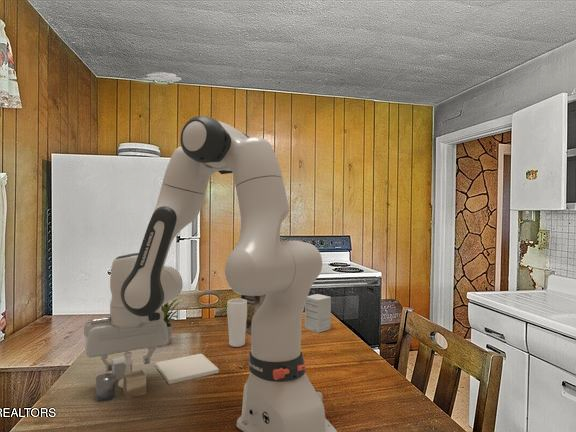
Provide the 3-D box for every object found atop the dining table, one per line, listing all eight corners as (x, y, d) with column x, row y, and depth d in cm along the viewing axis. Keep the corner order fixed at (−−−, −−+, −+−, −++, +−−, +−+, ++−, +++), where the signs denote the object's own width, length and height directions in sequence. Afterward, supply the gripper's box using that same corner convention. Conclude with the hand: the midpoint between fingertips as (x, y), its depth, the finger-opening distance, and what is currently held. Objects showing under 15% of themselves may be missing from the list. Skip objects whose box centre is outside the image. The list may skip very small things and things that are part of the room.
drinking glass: (243, 349, 130) (243, 303, 130) (224, 347, 131) (224, 302, 131) (249, 342, 136) (249, 299, 136) (230, 340, 138) (231, 298, 138)
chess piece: (125, 378, 107) (125, 342, 107) (141, 380, 106) (141, 343, 106) (113, 386, 102) (113, 348, 102) (130, 388, 101) (130, 350, 101)
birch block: (146, 394, 98) (146, 376, 98) (126, 398, 96) (126, 380, 96) (142, 387, 102) (142, 369, 102) (123, 391, 100) (123, 373, 100)
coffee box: (240, 331, 149) (240, 288, 148) (251, 326, 154) (251, 285, 154) (258, 335, 143) (259, 291, 143) (269, 331, 149) (269, 288, 148)
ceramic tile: (218, 372, 111) (218, 369, 111) (168, 384, 104) (168, 380, 104) (201, 356, 123) (201, 353, 123) (155, 365, 116) (155, 362, 115)
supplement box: (317, 325, 157) (317, 293, 157) (331, 329, 152) (331, 296, 152) (304, 328, 152) (304, 296, 152) (318, 333, 147) (318, 299, 147)
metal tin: (117, 398, 96) (117, 378, 96) (97, 403, 93) (97, 382, 93) (114, 391, 100) (114, 371, 99) (94, 395, 97) (94, 375, 97)
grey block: (132, 377, 108) (132, 361, 108) (114, 381, 106) (114, 364, 106) (129, 371, 112) (129, 355, 112) (111, 374, 109) (111, 358, 109)
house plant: (194, 337, 141) (194, 292, 140) (176, 351, 127) (176, 301, 127) (157, 335, 143) (157, 290, 143) (135, 348, 129) (135, 299, 129)
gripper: (85, 323, 96) (85, 380, 96) (170, 312, 106) (169, 363, 107) (82, 317, 101) (82, 370, 101) (164, 307, 112) (163, 355, 112)
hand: (128, 366), depth 104 cm, fingers open, 8 cm apart
